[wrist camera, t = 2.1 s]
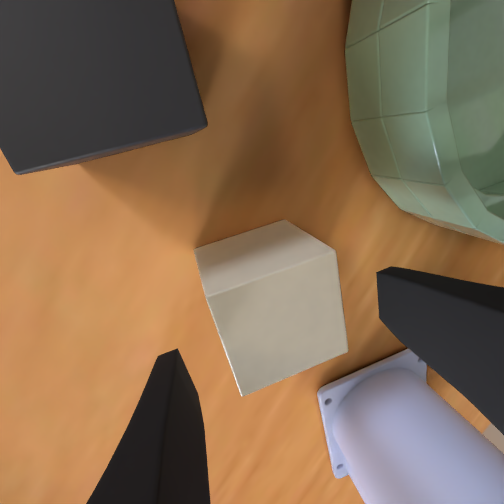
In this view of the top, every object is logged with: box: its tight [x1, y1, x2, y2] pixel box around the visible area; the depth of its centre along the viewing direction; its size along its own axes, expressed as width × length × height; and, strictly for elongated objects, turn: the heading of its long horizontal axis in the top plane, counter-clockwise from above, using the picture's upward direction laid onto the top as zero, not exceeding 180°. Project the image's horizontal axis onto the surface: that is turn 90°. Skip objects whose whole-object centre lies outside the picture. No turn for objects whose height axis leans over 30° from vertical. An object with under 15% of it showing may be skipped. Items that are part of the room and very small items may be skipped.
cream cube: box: [194, 219, 348, 396], centre depth 12 cm, size 4×4×4 cm
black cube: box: [0, 0, 208, 175], centre depth 8 cm, size 4×4×4 cm
